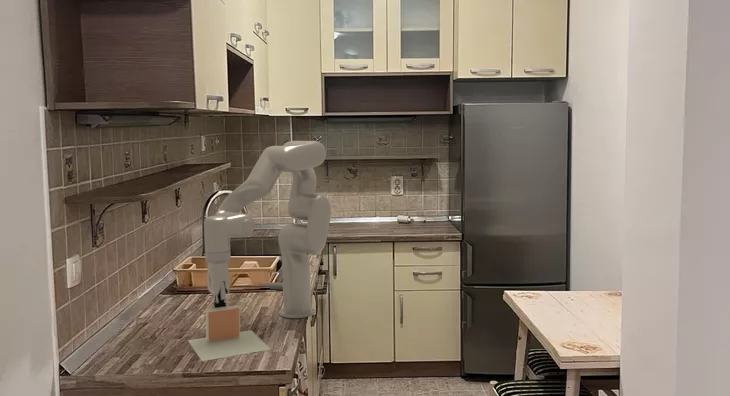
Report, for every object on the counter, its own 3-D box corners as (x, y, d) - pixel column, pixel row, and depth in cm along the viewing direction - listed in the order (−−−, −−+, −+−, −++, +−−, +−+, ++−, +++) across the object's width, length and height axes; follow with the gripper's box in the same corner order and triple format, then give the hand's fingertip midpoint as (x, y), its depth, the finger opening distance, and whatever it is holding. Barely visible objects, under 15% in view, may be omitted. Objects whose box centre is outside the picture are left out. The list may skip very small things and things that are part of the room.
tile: (206, 339, 200) (205, 309, 198) (238, 334, 204) (238, 304, 202) (207, 342, 198) (207, 311, 196) (240, 337, 202) (240, 307, 200)
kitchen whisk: (259, 286, 269) (258, 271, 268) (335, 293, 257) (335, 277, 256) (251, 290, 263) (251, 275, 262) (329, 297, 251) (328, 281, 250)
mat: (187, 342, 201) (187, 340, 201) (251, 332, 209) (251, 330, 209) (202, 363, 183) (201, 361, 183) (270, 351, 192) (270, 349, 191)
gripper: (200, 253, 205) (203, 310, 207) (211, 262, 192) (213, 323, 194) (224, 251, 209) (226, 307, 211) (236, 259, 195) (238, 319, 197)
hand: (220, 314), depth 202 cm, fingers closed
